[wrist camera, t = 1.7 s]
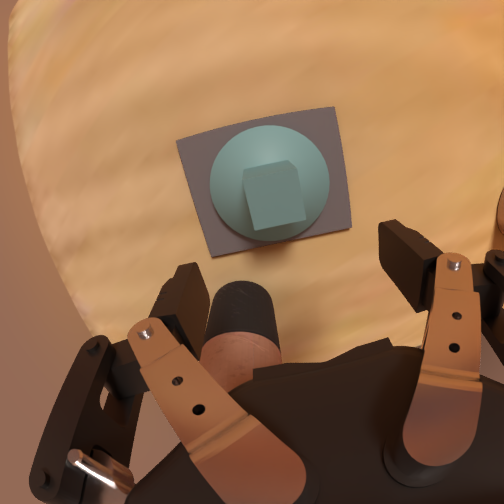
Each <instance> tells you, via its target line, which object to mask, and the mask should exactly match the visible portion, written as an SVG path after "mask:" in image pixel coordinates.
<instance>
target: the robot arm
mask: <svg viewBox="0 0 504 504" xmlns="http://www.w3.org/2000/svg"><path fill="white" fill-rule="evenodd" d="M497 220H498V226H499V229H500V231H501V232H502V234H504V190H503V192H502V195H501V197H500V201H499V205H498V213H497ZM378 234H379V260H380V263H381V266H382V268H383V269H384V271H385V272H386V273H387V274H388V276H389V277H390V278H391V280H392V281H393V282H394V283H395V285H396V286H397V287H398V289H399V290H400V291H401V293H402V294H403V295H404V297H405V298H406V299H407V301H408V302H409V303H410V305H411V306H412V308H413V309H414V310H415V312H416V313H419V312H422V311H425V310H428V317H427V322H426V327H425V332H424V337H423V341H422V346H421V349H419V348H415V347H408V346H392V344H391V342H390V340H389V338H384V339H381V340H378V341H375V342H371V343H368V344H364V345H361V346H357V347H355V348H353V349H351V350H349V351H347V352H345V353H343V354H341V355H339V356H337V357H335V358H333V359H331V360H329V361H326V362H321V363H284V364H279V365H273V366H267V367H261V368H255V369H253V379H251V380H249V381H247V382H244V383H242V384H240V385H239V386H237V387H235V388H233V389H232V390H231V391H229V392H228V393H227V392H226V391H225V390H224V389H223V388H222V387H221V386H220V385H219V384H218V383H217V382H216V381H215V380H214V379H213V378H212V376H211V375H210V374H209V373H208V372H207V371H206V370H205V369H204V368H203V366H202V365H201V364H200V363H199V362H198V361H200V357H201V352H202V346H203V340H204V335H205V329H206V324H207V318H208V313H209V307H210V298H209V294H208V291H207V288H206V285H205V283H204V280H203V277H202V275H201V272H200V269H199V267H198V265H197V263H196V262H193V263H188V264H183V265H179V266H178V268H177V270H176V272H175V275H174V277H173V278H170V279H169V280H168V281H167V282H166V283H165V284H164V285H163V286H162V288H161V291H160V293H159V295H158V297H157V299H156V300H157V301H155V304H154V306H153V308H152V310H151V313H150V315H149V317H148V318H146V319H143V320H141V321H139V322H138V323H136V324H135V325H134V326H133V327H132V328H131V329H130V330H129V332H128V335H127V338H128V339H126V340H123V341H120V342H117V343H114V344H111V342H110V341H109V339H108V338H107V337H106V336H104V335H98V336H95V337H93V338H91V339H89V340H88V341H86V342H85V343H84V344H83V346H82V347H81V349H80V351H79V353H78V354H77V356H76V358H75V361H74V363H73V365H72V367H71V369H70V371H69V373H68V375H67V378H66V379H65V381H64V383H63V386H62V388H61V390H60V392H59V395H58V397H57V399H56V402H55V404H54V406H53V409H52V411H51V414H50V416H49V419H48V421H47V424H46V427H45V429H44V432H43V435H42V438H41V440H40V443H39V446H38V449H37V452H36V455H35V458H34V462H33V465H32V468H31V472H30V476H29V486H30V489H31V492H32V493H33V495H34V496H35V497H36V498H37V499H38V500H40V501H42V502H44V503H46V504H504V384H501V383H499V382H497V381H494V380H492V379H490V378H487V377H485V376H483V375H480V357H481V332H482V334H483V335H484V336H485V338H486V339H487V341H488V342H489V344H490V345H491V347H492V348H493V350H494V351H495V353H496V355H497V356H498V358H499V359H500V361H501V363H502V364H503V366H504V309H503V308H502V306H503V303H504V251H500V250H490V251H488V252H487V253H486V256H485V261H484V263H482V264H471V263H470V261H469V259H468V258H466V257H465V256H463V255H461V254H458V253H443V252H442V251H441V250H440V249H438V248H437V247H436V246H435V245H434V244H432V243H431V242H429V240H427V239H426V238H424V236H422V235H421V234H420V233H419V232H417V231H415V230H412V229H410V228H406V227H405V226H404V225H402V224H401V223H400V222H399V221H397V220H396V219H394V220H389V221H385V222H380V223H379V226H378ZM103 387H105V388H106V389H107V390H108V391H109V393H108V396H107V400H106V403H105V406H104V409H103V410H102V408H101V406H100V395H101V392H102V389H103ZM147 391H151V393H152V395H153V396H154V398H155V400H156V402H157V403H158V405H159V407H160V409H161V410H162V412H163V414H164V415H165V417H166V419H167V420H168V422H169V423H170V425H171V427H172V428H173V430H174V431H175V433H176V435H177V436H178V438H179V439H180V441H181V442H180V443H179V444H178V445H177V446H176V447H175V448H174V449H173V450H172V451H171V452H170V453H169V454H168V455H167V456H166V457H165V458H164V459H163V460H162V461H161V462H160V463H159V464H157V465H156V466H155V467H154V468H153V469H152V470H151V471H150V472H149V473H148V474H147V475H146V476H145V477H144V478H143V479H141V480H140V481H139V482H138V483H137V484H135V483H134V478H133V474H132V472H131V471H130V470H129V464H130V457H131V452H132V447H133V441H134V436H135V431H136V426H137V421H138V417H139V412H140V407H141V403H142V399H143V394H144V392H147Z"/></svg>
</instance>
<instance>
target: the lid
mask: <svg viewBox="0 0 504 504" xmlns="http://www.w3.org/2000/svg"><path fill="white" fill-rule="evenodd" d="M329 183H330V181H329V172H328V168H327V165H326V162H325V160H324V158H323V156H322V154H321V152H320V151H319V150H318V148H317V147H316V146H315V145H314V144H313V143H312V142H311V141H310V140H309V139H308V138H306V137H305V136H304V135H302V134H300V133H299V132H297V131H294V130H292V129H290V128H286V127H282V126H274V125H265V126H258V127H254V128H250V129H248V130H245V131H243V132H241V133H239V134H238V135H236V136H234V137H233V138H232V139H231V140H230V141H228V142H227V143H226V144H225V146H224V147H223V148H222V149H221V151H220V152H219V153H218V155H217V157H216V159H215V161H214V163H213V166H212V170H211V175H210V193H211V197H212V201H213V204H214V206H215V208H216V210H217V212H218V214H219V215H220V217H221V218H222V219H223V220H224V221H225V223H226V224H227V225H228V226H230V227H231V228H232V229H233V230H235V231H236V232H238V233H240V234H242V235H244V236H246V237H249V238H252V239H256V240H261V241H277V240H283V239H287V238H290V237H293V236H295V235H297V234H299V233H301V232H302V231H304V230H305V229H307V228H308V227H309V226H310V225H311V224H312V223H313V222H314V221H315V220H316V219H317V218H318V217H319V215H320V213H321V212H322V210H323V208H324V206H325V204H326V201H327V198H328V193H329Z"/></svg>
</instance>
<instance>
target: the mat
mask: <svg viewBox="0 0 504 504" xmlns="http://www.w3.org/2000/svg"><path fill="white" fill-rule="evenodd" d="M265 125H274V126H282V127H286V128H290V129H292V130H294V131H297V132H299V133H300V134H302V135H304V136H305V137H306V138H308V139H309V140H310V141H311V142H312V143H313V144H314V145H315V146H316V147H317V148H318V150H319V151H320V152H321V154H322V156H323V158H324V160H325V162H326V165H327V168H328V172H329V181H330V183H329V193H328V198H327V201H326V204H325V206H324V208H323V210H322V212H321V213H320V215H319V217H318V218H317V219H316V220H315V221H314V222H313V223H312V224H311V225H310V226H309V227H308V228H307V229H305V230H304V231H302V232H301V233H299V234H297V235H295V236H293V237H290V238H287V239H283V240H277V241H261V240H256V239H252V238H249V237H246V236H244V235H242V234H240V233H238V232H236V231H235V230H233V229H232V228H231V227H230V226H228V225H227V224H226V223H225V221H224V220H223V219H222V218H221V217H220V215H219V214H218V212H217V210H216V208H215V206H214V204H213V201H212V197H211V193H210V175H211V170H212V166H213V163H214V161H215V159H216V157H217V155H218V153H219V152H220V151H221V149H222V148H223V147H224V146H225V144H226V143H227V142H228V141H230V140H231V139H232V138H233V137H234V136H236V135H238V134H239V133H241V132H243V131H245V130H248V129H250V128H254V127H258V126H265ZM176 143H177V147H178V150H179V154H180V157H181V161H182V164H183V168H184V171H185V175H186V178H187V181H188V185H189V188H190V191H191V195H192V198H193V201H194V204H195V208H196V211H197V214H198V217H199V220H200V223H201V227H202V230H203V233H204V236H205V239H206V242H207V245H208V248H209V251H210V254H211V257H214V256H219V255H224V254H228V253H233V252H238V251H242V250H247V249H252V248H257V247H261V246H266V245H271V244H275V243H280V242H285V241H290V240H294V239H299V238H304V237H309V236H313V235H318V234H323V233H328V232H333V231H337V230H342V229H347V228H352V221H351V210H350V201H349V192H348V184H347V177H346V169H345V163H344V156H343V150H342V144H341V138H340V133H339V127H338V122H337V117H336V112H335V107H326V108H318V109H311V110H304V111H298V112H291V113H286V114H280V115H275V116H269V117H264V118H260V119H255V120H250V121H246V122H241V123H237V124H233V125H229V126H225V127H221V128H217V129H214V130H210V131H207V132H203V133H200V134H196V135H193V136H189V137H186V138H183V139H180V140H177V141H176Z"/></svg>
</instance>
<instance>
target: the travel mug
mask: <svg viewBox="0 0 504 504" xmlns="http://www.w3.org/2000/svg"><path fill="white" fill-rule="evenodd" d="M199 363H200V364H201V365H202V366H203V368H204V369H205V370H206V371H207V372H208V373H209V374H210V375H211V376H212V378H213V379H214V380H215V381H216V382H217V383H218V384H219V385H220V386H221V387H222V388H223V389H224V390H225V391H226V392H227V393H228V392H229V391H231V390H232V389H233V388H235V387H237V386H239V385H240V384H242V383H244V382H247V381H249V380H251V379H253V369H255V368H261V367H267V366H273V365H279V364H282V360H281V352H280V345H279V339H278V333H277V326H276V320H275V314H274V308H273V303H272V299H271V297H270V295H269V293H268V292H267V291H266V290H265V289H264V288H263V287H261V286H260V285H258V284H256V283H253V282H249V281H235V282H231V283H228V284H226V285H224V286H223V287H221V288H220V289H219V290H218V292H217V293H216V294H215V296H214V299H213V302H212V306H211V310H210V314H209V318H208V322H207V327H206V331H205V335H204V340H203V346H202V352H201V357H200V361H199Z"/></svg>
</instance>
